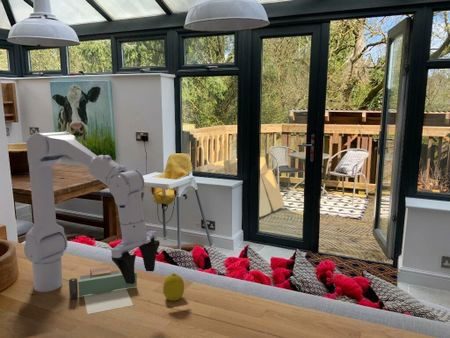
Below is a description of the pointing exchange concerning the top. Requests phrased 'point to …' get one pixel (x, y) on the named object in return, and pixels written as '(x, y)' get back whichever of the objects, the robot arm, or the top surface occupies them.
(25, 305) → the top surface
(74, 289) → the gate post
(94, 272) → the block
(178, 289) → the lemon
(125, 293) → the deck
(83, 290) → the bar
